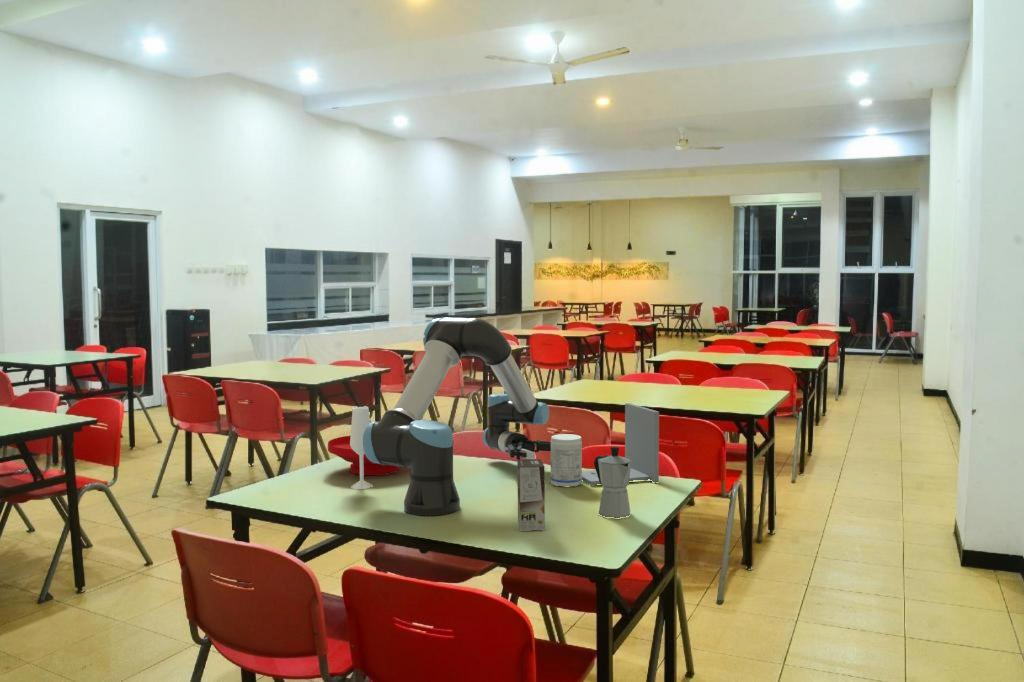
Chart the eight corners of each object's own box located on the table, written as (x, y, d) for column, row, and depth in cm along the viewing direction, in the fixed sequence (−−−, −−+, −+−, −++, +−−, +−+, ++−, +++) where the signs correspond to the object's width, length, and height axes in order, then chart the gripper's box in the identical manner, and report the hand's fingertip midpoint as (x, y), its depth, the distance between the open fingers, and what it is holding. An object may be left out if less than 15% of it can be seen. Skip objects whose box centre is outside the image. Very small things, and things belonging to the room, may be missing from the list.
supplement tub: (551, 480, 243) (551, 433, 242) (581, 480, 242) (581, 433, 241) (550, 487, 233) (549, 439, 232) (581, 488, 232) (581, 439, 231)
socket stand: (658, 482, 238) (659, 411, 237) (595, 488, 232) (595, 415, 230) (629, 469, 257) (629, 403, 256) (569, 474, 251) (569, 406, 249)
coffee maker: (643, 518, 201) (643, 449, 200) (616, 523, 197) (616, 452, 196) (608, 504, 214) (608, 440, 213) (582, 509, 210) (582, 443, 208)
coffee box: (545, 531, 190) (545, 466, 189) (519, 531, 190) (519, 466, 189) (541, 520, 199) (541, 458, 199) (516, 521, 199) (516, 459, 198)
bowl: (332, 484, 239) (332, 452, 238) (324, 464, 268) (323, 435, 267) (430, 476, 249) (429, 445, 248) (411, 458, 277) (411, 430, 277)
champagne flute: (377, 486, 236) (376, 408, 234) (357, 490, 231) (356, 410, 230) (366, 482, 241) (365, 405, 239) (346, 486, 237) (345, 407, 235)
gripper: (544, 450, 269) (582, 461, 251) (482, 459, 255) (518, 471, 237) (544, 428, 268) (582, 438, 250) (482, 436, 254) (518, 446, 237)
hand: (551, 454), depth 244 cm, fingers open, 13 cm apart
